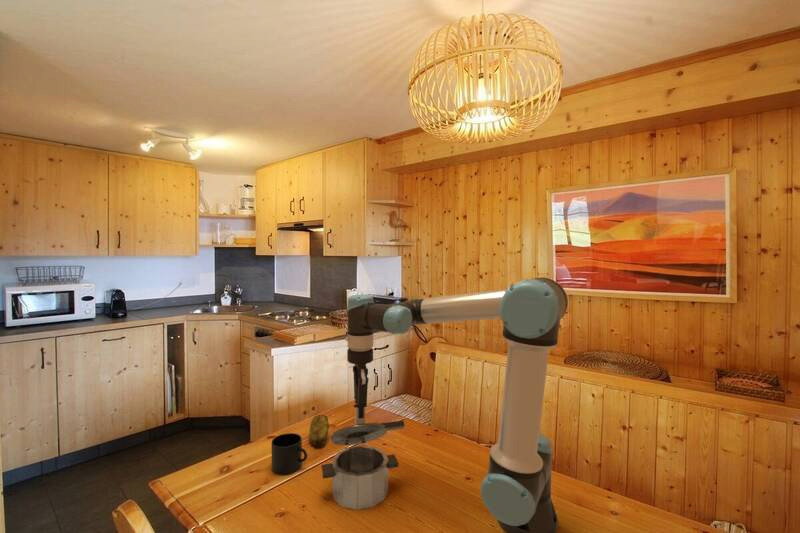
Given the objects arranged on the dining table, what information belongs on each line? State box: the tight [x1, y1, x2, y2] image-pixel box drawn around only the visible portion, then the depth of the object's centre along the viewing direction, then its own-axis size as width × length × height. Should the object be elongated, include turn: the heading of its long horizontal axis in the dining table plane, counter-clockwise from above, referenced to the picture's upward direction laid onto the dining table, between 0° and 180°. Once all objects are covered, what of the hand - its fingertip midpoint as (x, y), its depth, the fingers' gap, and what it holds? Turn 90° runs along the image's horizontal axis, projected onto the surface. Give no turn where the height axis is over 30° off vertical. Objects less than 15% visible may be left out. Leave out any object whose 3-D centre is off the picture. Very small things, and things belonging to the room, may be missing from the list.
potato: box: [308, 414, 330, 448], centre depth 141 cm, size 8×13×8 cm, turn 172°
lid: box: [330, 420, 405, 446], centre depth 114 cm, size 17×22×3 cm
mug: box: [271, 432, 308, 476], centre depth 123 cm, size 9×12×9 cm
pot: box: [321, 444, 399, 511], centre depth 112 cm, size 17×22×9 cm
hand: (360, 427), depth 111 cm, fingers closed
